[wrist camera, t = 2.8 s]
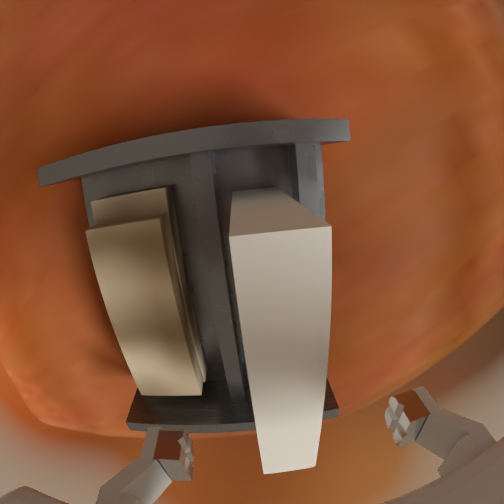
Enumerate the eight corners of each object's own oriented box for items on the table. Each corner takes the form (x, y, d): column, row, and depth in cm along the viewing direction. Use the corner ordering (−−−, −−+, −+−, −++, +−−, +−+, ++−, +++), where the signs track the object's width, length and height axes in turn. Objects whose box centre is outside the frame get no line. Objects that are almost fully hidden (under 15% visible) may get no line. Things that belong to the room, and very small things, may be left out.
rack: (88, 162, 19) (37, 168, 13) (313, 130, 20) (348, 119, 13) (146, 380, 26) (130, 430, 20) (318, 366, 27) (337, 416, 20)
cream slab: (232, 191, 19) (228, 236, 8) (275, 186, 20) (331, 226, 8) (252, 354, 24) (263, 474, 13) (285, 350, 24) (315, 466, 13)
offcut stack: (102, 197, 19) (76, 206, 15) (171, 184, 19) (156, 191, 15) (149, 368, 24) (139, 398, 20) (206, 367, 24) (203, 398, 20)
